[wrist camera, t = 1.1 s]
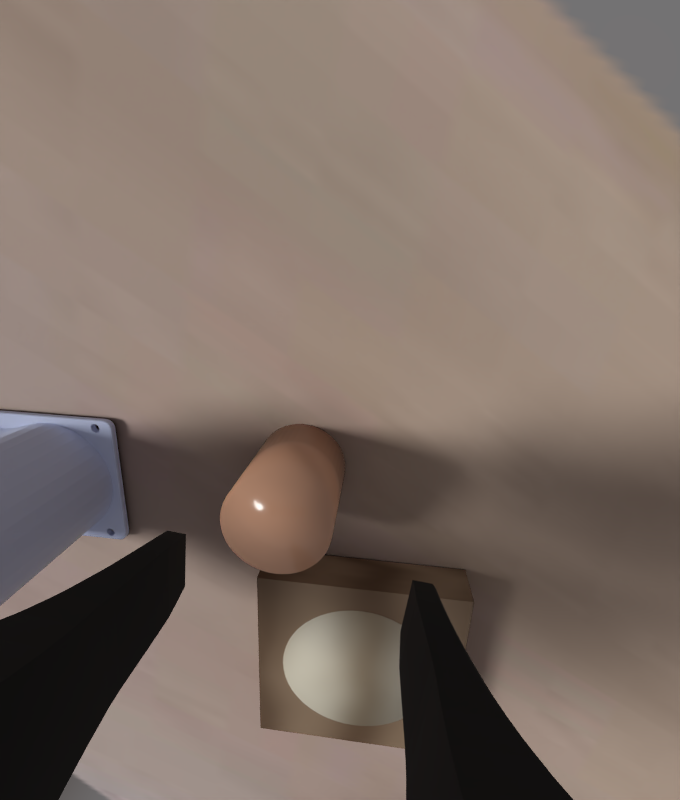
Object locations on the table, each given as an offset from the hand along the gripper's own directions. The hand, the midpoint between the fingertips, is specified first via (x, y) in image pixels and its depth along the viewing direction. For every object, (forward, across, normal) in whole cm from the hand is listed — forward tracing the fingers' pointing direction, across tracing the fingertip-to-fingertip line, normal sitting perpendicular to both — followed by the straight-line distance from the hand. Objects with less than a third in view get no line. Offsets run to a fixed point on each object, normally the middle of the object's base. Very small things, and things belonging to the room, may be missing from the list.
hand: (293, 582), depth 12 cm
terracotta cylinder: (+11, +2, +2) cm, 11 cm away
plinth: (+11, -3, +13) cm, 17 cm away
